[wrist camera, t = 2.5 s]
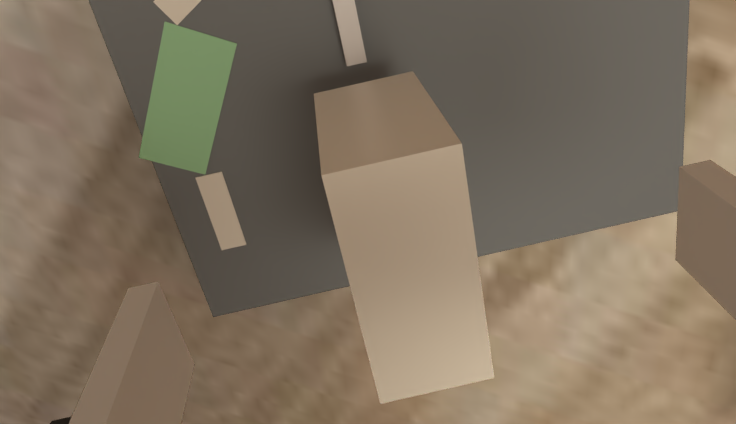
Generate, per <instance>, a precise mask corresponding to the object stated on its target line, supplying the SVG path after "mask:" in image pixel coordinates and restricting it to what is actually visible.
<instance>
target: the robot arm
mask: <svg viewBox="0 0 736 424" xmlns="http://www.w3.org/2000/svg"><path fill="white" fill-rule="evenodd" d="M675 260H676V261H677V262H678V263H679V264H680V265H681V266H682V267H683V268H684V269H685V270H686V271H687V272H688V273H689V274H690V275H691V276H692V277H693V278H694V279H695V280H696V281H697V282H698V283H699V284H700V285H701V286H702V287H703V288H704V289H705V290H706V291H707V292H708V293H709V294H710V295H711V296H712V297H713V298H714V299H715V300H716V301H717V302H718V303H719V304H720V305H721V306H722V307H723V308H724V309H725V310H726V311H727V312H728V313H729V314H730V315H731V316H732V317H733V318H734V319H735V320H736V177H735V176H733V175H732V174H730V173H729V172H728V171H726V170H725V169H723V168H722V167H720V166H719V165H717V164H716V163H714V162H713V161H711V160H708V161H703V162H699V163H694V164H689V165H685V166H680V167H679V189H678V213H677V236H676V259H675ZM194 366H195V364H194V362H193V360H192V357H191V355H190V353H189V350H188V348H187V346H186V344H185V341H184V339H183V337H182V334H181V332H180V330H179V327H178V325H177V323H176V321H175V318H174V316H173V314H172V311H171V309H170V307H169V305H168V302H167V300H166V298H165V295H164V293H163V291H162V288H161V286H160V284H159V282H153V283H149V284H144V285H140V286H135V287H131V288H128V290H127V292H126V294H125V297H124V299H123V301H122V303H121V306H120V308H119V310H118V313H117V315H116V317H115V319H114V322H113V324H112V326H111V329H110V331H109V333H108V335H107V338H106V340H105V342H104V344H103V347H102V349H101V351H100V354H99V356H98V358H97V360H96V363H95V365H94V367H93V369H92V372H91V374H90V376H89V379H88V381H87V383H86V385H85V388H84V390H83V392H82V394H81V397H80V399H79V401H78V404H77V406H76V408H75V410H74V413H73V415H72V417H68V418H64V419H59V420H54V421H52V422H51V423H50V424H181V422H182V418H183V414H184V409H185V405H186V400H187V396H188V392H189V387H190V383H191V379H192V374H193V370H194Z"/></svg>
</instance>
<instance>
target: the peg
mask: <svg viewBox="0 0 736 424" xmlns="http://www.w3.org/2000/svg"><path fill="white" fill-rule="evenodd" d="M332 1H333V5H334V10H335V14H336V19H337V24H338V28H339V33H340V37H341V42H342V47H343V51H344V56H345V60H346V65H347V66H351V65H356V64H360V63H365V62H367V60H366V55H365V50H364V45H363V40H362V35H361V30H360V25H359V20H358V15H357V10H356V5H355V0H332ZM314 103H315V113H316V124H317V135H318V145H319V156H320V167H321V176H322V180H323V184H324V188H325V192H326V195H327V199H328V203H329V207H330V211H331V215H332V219H333V223H334V226H335V230H336V234H337V238H338V242H339V246H340V250H341V253H342V257H343V261H344V265H345V269H346V273H347V277H348V281H349V284H350V288H351V292H352V296H353V300H354V304H355V308H356V312H357V315H358V319H359V323H360V327H361V331H362V335H363V339H364V343H365V346H366V350H367V354H368V358H369V362H370V366H371V370H372V374H373V377H374V381H375V385H376V389H377V393H378V397H379V401H380V404H382V403H387V402H391V401H396V400H400V399H404V398H409V397H413V396H418V395H422V394H426V393H431V392H435V391H439V390H444V389H448V388H453V387H457V386H461V385H466V384H470V383H474V382H479V381H483V380H488V379H492V378H494V372H493V364H492V357H491V350H490V343H489V335H488V328H487V321H486V314H485V307H484V299H483V292H482V285H481V278H480V270H479V263H478V256H477V249H476V242H475V234H474V227H473V220H472V213H471V205H470V198H469V191H468V184H467V177H466V169H465V162H464V155H463V148H462V143H461V141H460V140H459V138H458V137H457V135H456V134H455V133H454V131H453V130H452V128H451V127H450V125H449V124H448V122H447V121H446V119H445V118H444V116H443V115H442V113H441V112H440V110H439V109H438V107H437V106H436V105H435V103H434V102H433V100H432V99H431V97H430V96H429V94H428V93H427V91H426V90H425V88H424V87H423V85H422V84H421V82H420V81H419V80H418V78H417V77H416V75H415V74H414V72H413V71H411V72H407V73H402V74H398V75H394V76H389V77H385V78H380V79H376V80H372V81H367V82H363V83H358V84H354V85H350V86H345V87H341V88H336V89H332V90H328V91H323V92H319V93H314Z"/></svg>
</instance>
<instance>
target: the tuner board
mask: <svg viewBox="0 0 736 424" xmlns="http://www.w3.org/2000/svg"><path fill="white" fill-rule="evenodd" d="M89 3H90V5H91V8H92V10H93V13H94V15H95V18H96V20H97V23H98V26H99V28H100V31H101V33H102V36H103V38H104V41H105V43H106V46H107V48H108V51H109V53H110V56H111V59H112V61H113V64H114V66H115V69H116V71H117V74H118V76H119V79H120V81H121V84H122V86H123V89H124V92H125V94H126V97H127V99H128V102H129V104H130V107H131V109H132V112H133V114H134V117H135V120H136V122H137V125H138V127H139V130H140V132H141V135H142V143H141V148H140V153H139V158H141V159H145V160H149V161H152V163H153V165H154V168H155V170H156V173H157V175H158V178H159V180H160V183H161V186H162V188H163V191H164V193H165V196H166V198H167V201H168V203H169V206H170V208H171V211H172V214H173V216H174V219H175V221H176V224H177V226H178V229H179V231H180V234H181V236H182V239H183V241H184V244H185V247H186V249H187V252H188V254H189V257H190V259H191V262H192V264H193V267H194V269H195V272H196V274H197V277H198V280H199V282H200V285H201V287H202V290H203V292H204V295H205V297H206V300H207V302H208V305H209V307H210V310H211V313H212V315H213V317H216V316H220V315H224V314H229V313H233V312H238V311H242V310H246V309H251V308H255V307H260V306H264V305H268V304H273V303H277V302H282V301H286V300H290V299H295V298H299V297H303V296H308V295H312V294H317V293H321V292H325V291H330V290H334V289H339V288H343V287H347V286H350V284H349V281H348V277H347V273H346V269H345V265H344V261H343V257H342V253H341V250H340V246H339V242H338V238H337V234H336V230H335V226H334V223H333V219H332V215H331V211H330V207H329V203H328V199H327V195H326V192H325V188H324V184H323V180H322V176H321V167H320V156H319V145H318V135H317V124H316V113H315V103H314V93H319V92H323V91H328V90H332V89H336V88H341V87H345V86H350V85H354V84H358V83H363V82H367V81H372V80H376V79H380V78H385V77H389V76H394V75H398V74H402V73H407V72H411V71H413V72H414V74H415V75H416V77H417V78H418V80H419V81H420V82H421V84H422V85H423V87H424V88H425V90H426V91H427V93H428V94H429V96H430V97H431V99H432V100H433V102H434V103H435V105H436V106H437V107H438V109H439V110H440V112H441V113H442V115H443V116H444V118H445V119H446V121H447V122H448V124H449V125H450V127H451V128H452V130H453V131H454V133H455V134H456V135H457V137H458V138H459V140H460V141H461V143H462V148H463V155H464V162H465V169H466V177H467V184H468V191H469V198H470V205H471V213H472V220H473V227H474V234H475V242H476V249H477V256H478V257H479V256H483V255H488V254H492V253H496V252H501V251H505V250H510V249H514V248H518V247H523V246H527V245H532V244H536V243H540V242H545V241H549V240H554V239H558V238H562V237H567V236H571V235H575V234H580V233H584V232H589V231H593V230H597V229H602V228H606V227H611V226H615V225H619V224H624V223H628V222H632V221H637V220H641V219H646V218H650V217H654V216H659V215H663V214H668V213H672V212H676V211H678V189H679V167H680V166H683V149H684V124H685V99H686V74H687V49H688V24H689V0H355V5H356V10H357V15H358V20H359V25H360V30H361V35H362V40H363V45H364V50H365V55H366V60H367V62H365V63H360V64H356V65H351V66H347V65H346V60H345V56H344V51H343V47H342V42H341V37H340V33H339V28H338V24H337V19H336V14H335V10H334V5H333V1H332V0H89Z"/></svg>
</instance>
